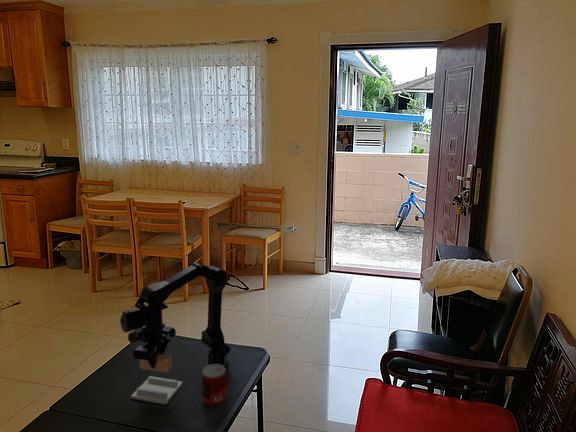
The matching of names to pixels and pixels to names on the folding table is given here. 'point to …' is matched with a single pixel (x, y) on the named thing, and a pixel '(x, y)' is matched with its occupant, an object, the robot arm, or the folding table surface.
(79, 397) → the folding table surface
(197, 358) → the folding table surface
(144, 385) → the deck plate
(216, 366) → the canned food
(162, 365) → the chute block
